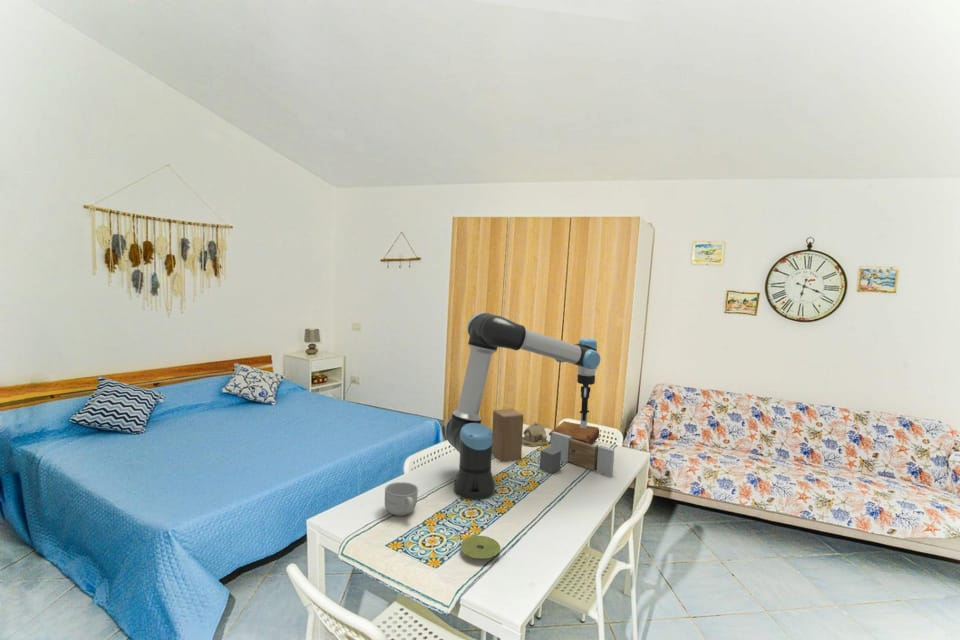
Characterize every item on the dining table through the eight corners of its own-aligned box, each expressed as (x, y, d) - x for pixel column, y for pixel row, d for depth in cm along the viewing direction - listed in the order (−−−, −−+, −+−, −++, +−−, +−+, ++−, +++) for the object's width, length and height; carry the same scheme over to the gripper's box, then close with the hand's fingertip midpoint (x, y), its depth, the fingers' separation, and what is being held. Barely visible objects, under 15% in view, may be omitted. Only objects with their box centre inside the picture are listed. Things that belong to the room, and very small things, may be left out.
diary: (586, 453, 213) (587, 440, 212) (548, 444, 222) (549, 433, 221) (598, 438, 233) (599, 427, 233) (563, 431, 242) (563, 420, 241)
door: (594, 472, 189) (596, 446, 188) (566, 462, 198) (568, 438, 197) (597, 470, 191) (599, 445, 190) (570, 461, 200) (571, 436, 199)
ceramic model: (535, 436, 231) (536, 417, 230) (552, 443, 222) (553, 423, 221) (515, 442, 222) (516, 422, 221) (532, 449, 213) (533, 428, 212)
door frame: (609, 477, 185) (611, 450, 184) (549, 456, 205) (551, 432, 204) (612, 475, 187) (614, 449, 186) (552, 455, 206) (554, 431, 205)
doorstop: (551, 473, 186) (552, 454, 186) (539, 469, 190) (540, 450, 190) (559, 469, 191) (560, 451, 190) (547, 465, 195) (548, 447, 194)
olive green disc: (487, 538, 138) (488, 531, 138) (507, 558, 128) (507, 552, 128) (453, 547, 132) (453, 540, 132) (471, 569, 123) (471, 562, 122)
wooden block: (490, 453, 205) (492, 410, 203) (510, 451, 209) (512, 408, 208) (501, 462, 196) (503, 416, 194) (521, 459, 200) (523, 414, 198)
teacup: (381, 505, 155) (382, 482, 154) (413, 501, 159) (414, 478, 158) (388, 526, 142) (389, 501, 141) (423, 521, 146) (424, 497, 145)
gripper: (595, 377, 192) (592, 432, 194) (595, 372, 205) (592, 423, 207) (576, 376, 194) (573, 430, 196) (578, 370, 207) (575, 421, 209)
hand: (583, 427), depth 202 cm, fingers closed
